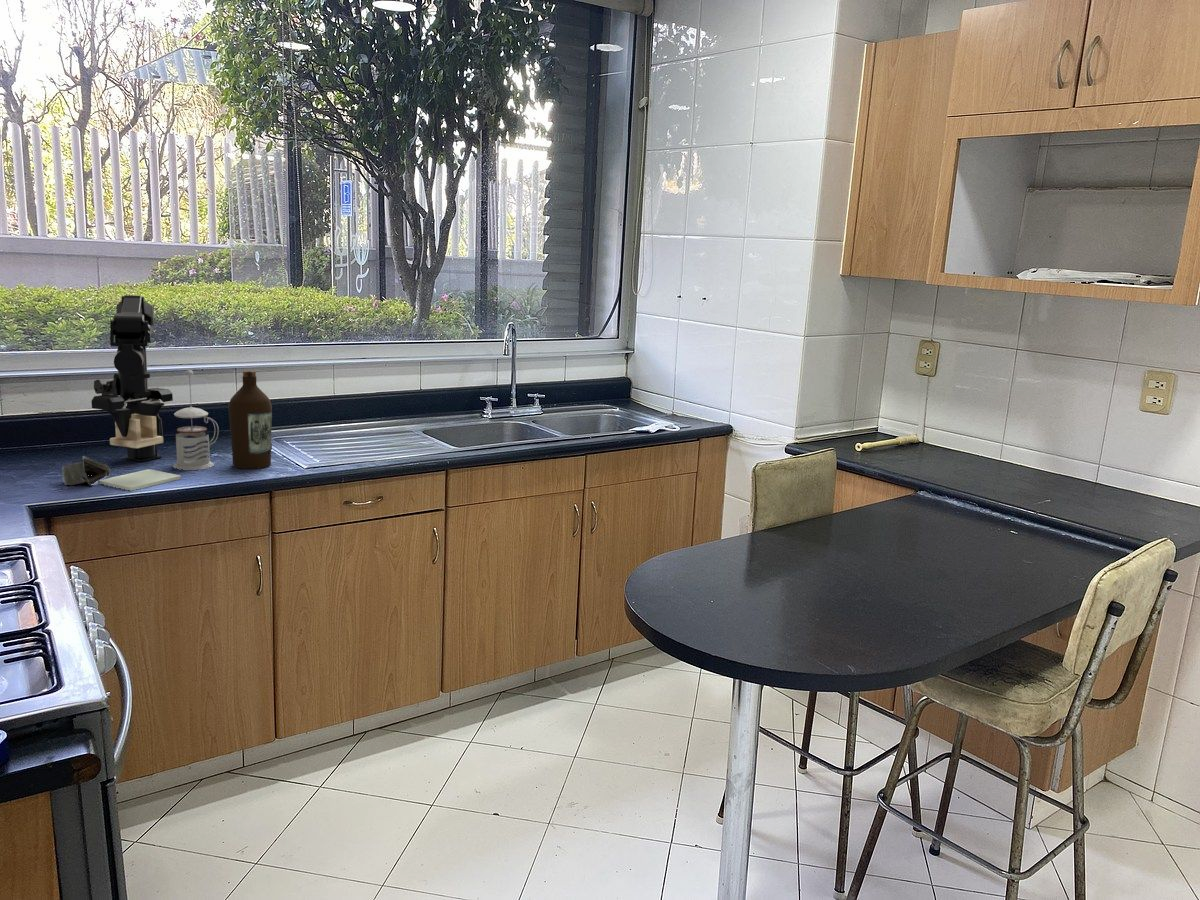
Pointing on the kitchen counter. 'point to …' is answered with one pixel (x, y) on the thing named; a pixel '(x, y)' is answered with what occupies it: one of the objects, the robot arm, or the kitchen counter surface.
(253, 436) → the olive oil
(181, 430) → the french press
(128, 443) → the wooden slotted holder
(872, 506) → the kitchen counter surface
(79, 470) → the chocolate cake
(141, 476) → the sage board
